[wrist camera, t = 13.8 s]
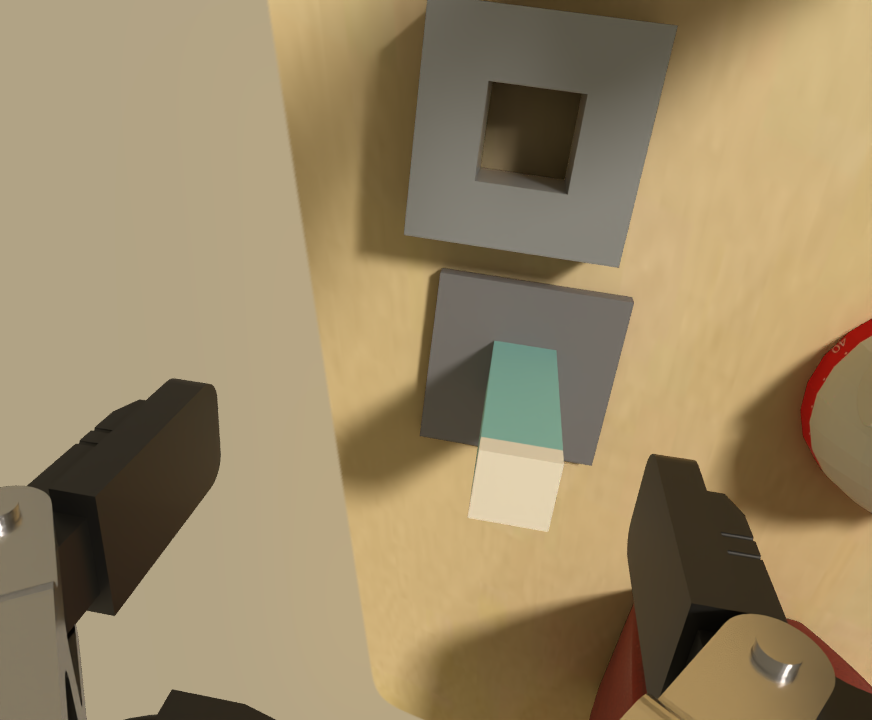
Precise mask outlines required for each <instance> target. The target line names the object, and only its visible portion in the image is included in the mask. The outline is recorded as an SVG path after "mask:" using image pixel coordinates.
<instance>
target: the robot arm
mask: <svg viewBox="0 0 872 720" xmlns="http://www.w3.org/2000/svg"><path fill="white" fill-rule="evenodd" d="M220 457H221V453H220V437H219V420H218V404H217V394H216V390H215V388H214V386H213V385H211V384H206V383H200V382H193V381H187V380H181V379H170V380H168V381H167V382H166V383H165V384H163V385H162V386H161V387H160V388H159V389H158V390H157V391H156V392H155V393H154V394H152V395H151V396H150V397H149V398H148V399H147V400H138V401H135V402H133V403H131V404H129V405H127V406H124V407H122V408H120V409H118V410H115V411H113V412H112V413H111V414H110V415H109V416H107V417H106V418H105V419H104V420H103V421H102V422H100V423H99V424H98V425H97V426H96V427H95V430H94V431H90V432H89V433H88V434H87V435H85V436H84V437H83V438H82V439H81V440H80V443H79V444H75V445H74V446H73V447H72V448H70V449H69V450H68V451H67V452H66V453H64V454H63V455H62V456H61V457H60V458H59V459H57V460H56V461H55V462H54V463H53V464H52V465H51V466H49V467H48V468H47V469H46V470H45V471H44V472H42V473H41V474H40V475H39V476H38V477H37V478H36V479H34V480H33V481H32V482H31V483H30V484H28V485H27V486H6V487H0V720H86V719H87V718H86V708H85V699H84V690H83V679H82V668H81V658H80V649H79V639H78V632H77V627H76V623H77V622H78V620H79V619H80V618H81V617H82V615H83V614H84V613H85V612H86V610H87V611H92V612H97V613H102V614H107V615H113V616H115V615H116V614H117V612H118V611H119V610H120V608H121V607H122V606H123V604H124V603H125V602H126V600H127V599H128V598H129V596H130V595H131V594H132V592H133V591H134V590H135V588H136V587H137V586H138V584H139V583H140V582H141V580H142V579H143V578H144V576H145V575H146V574H147V572H148V571H149V570H150V568H151V567H152V566H153V564H154V563H155V562H156V560H157V559H158V557H159V556H160V555H161V554H162V552H163V551H164V550H165V548H166V547H167V546H168V544H169V543H170V542H171V540H172V539H173V538H174V536H175V535H176V534H177V532H178V531H179V530H180V528H181V527H182V526H183V524H184V523H185V522H186V520H187V519H188V518H189V516H190V515H191V514H192V512H193V511H194V510H195V508H196V507H197V506H198V504H199V503H200V502H201V500H202V499H203V498H204V496H205V495H206V494H207V492H208V491H209V490H210V488H211V487H212V485H213V484H214V482H215V479H216V477H217V474H218V470H219V466H220ZM627 557H628V565H629V572H630V579H631V586H632V593H633V600H634V607H635V613H636V620H637V627H638V634H639V641H640V648H641V655H642V662H643V669H644V676H645V683H646V690H647V694H645V695H643V696H642V697H641V698H640V699H639V700H638V701H637V702H636V703H635V704H634V705H633V706H632V707H631V708H630V709H629V710H628V711H627V712H626V713H625V714H624V716H623V717H622V718H621V719H620V720H872V694H871V693H869V692H866V691H864V690H861V689H859V688H857V687H855V686H853V685H850V684H848V683H846V682H844V681H843V680H841V679H839V678H837V677H836V676H835V673H834V670H833V667H832V664H831V662H830V661H829V659H828V657H827V656H826V654H825V653H824V652H823V651H822V649H821V648H820V647H819V646H818V645H817V644H816V643H815V642H814V641H813V640H812V639H810V638H809V637H808V636H807V635H805V634H804V633H803V632H801V631H800V630H798V629H797V628H795V627H793V626H791V625H789V624H788V622H787V620H786V617H785V615H784V612H783V610H782V607H781V605H780V602H779V600H778V597H777V595H776V592H775V590H774V587H773V585H772V582H771V580H770V577H769V575H768V572H767V570H766V567H765V565H764V562H763V560H760V557H761V555H760V552H759V550H758V547H757V545H756V542H755V541H753V535H752V532H751V530H750V527H749V525H748V522H747V520H746V517H745V515H744V514H743V513H742V512H741V511H740V510H739V509H738V508H737V507H736V505H735V504H734V503H733V502H732V501H731V500H730V499H729V498H728V497H727V496H726V495H725V494H722V493H716V492H710V491H707V490H706V487H705V484H704V481H703V478H702V475H701V472H700V469H699V466H698V464H697V462H696V461H695V460H689V459H683V458H676V457H670V456H663V455H657V454H651V455H650V457H649V459H648V461H647V464H646V467H645V471H644V475H643V478H642V482H641V486H640V490H639V493H638V497H637V501H636V504H635V508H634V512H633V516H632V519H631V523H630V528H629V534H628V545H627ZM125 720H275V719H273V718H271V717H269V716H267V715H265V714H263V713H261V712H259V711H257V710H255V709H253V708H251V707H249V706H247V705H245V704H241V703H237V702H232V701H227V700H222V699H217V698H212V697H207V696H202V695H197V694H192V693H187V692H182V691H177V690H171V692H170V694H169V695H168V697H167V699H166V701H165V702H164V704H163V706H162V708H161V709H160V711H159V713H158V714H157V715H147V716H141V717H135V718H129V719H125Z"/></svg>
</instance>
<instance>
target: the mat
mask: <svg viewBox="0 0 872 720" xmlns="http://www.w3.org/2000/svg"><path fill="white" fill-rule="evenodd" d="M633 305H634V301H633V299H632V297H627V296H620V295H614V294H607V293H601V292H594V291H588V290H582V289H575V288H569V287H562V286H556V285H549V284H543V283H536V282H530V281H524V280H517V279H511V278H504V277H498V276H491V275H485V274H479V273H472V272H466V271H459V270H453V269H446V268H442V270H441V273H440V280H439V288H438V296H437V304H436V312H435V320H434V328H433V336H432V343H431V351H430V359H429V367H428V375H427V383H426V391H425V399H424V407H423V415H422V423H421V430H420V436H423V437H429V438H435V439H440V440H446V441H452V442H458V443H463V444H469V445H475V446H478V443H479V436H480V429H481V422H482V415H483V408H484V401H485V395H486V388H487V382H488V376H489V370H490V364H491V358H492V352H493V346H494V341H500V342H507V343H513V344H519V345H526V346H532V347H538V348H545V349H551V350H556V352H557V367H558V382H559V397H560V412H561V427H562V442H563V457H564V461H568V462H573V463H579V464H585V465H591V466H592V463H593V459H594V455H595V451H596V447H597V443H598V440H599V436H600V432H601V428H602V424H603V420H604V416H605V413H606V409H607V405H608V401H609V397H610V393H611V389H612V386H613V382H614V378H615V374H616V370H617V366H618V362H619V359H620V355H621V351H622V347H623V343H624V339H625V335H626V332H627V328H628V324H629V320H630V316H631V312H632V308H633Z"/></svg>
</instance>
